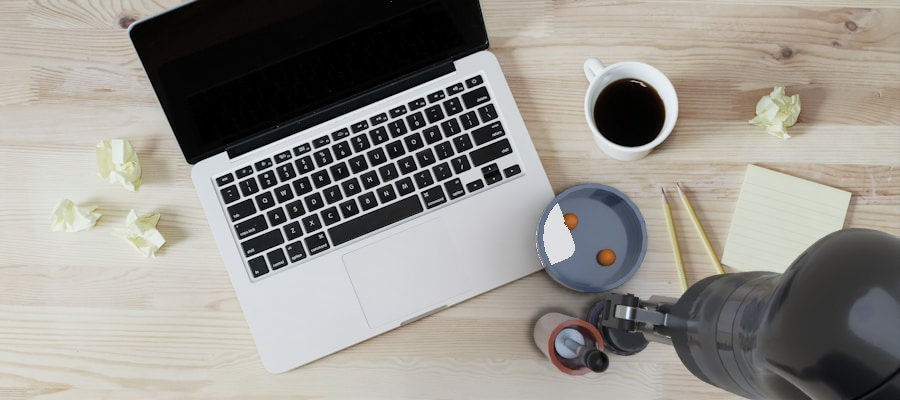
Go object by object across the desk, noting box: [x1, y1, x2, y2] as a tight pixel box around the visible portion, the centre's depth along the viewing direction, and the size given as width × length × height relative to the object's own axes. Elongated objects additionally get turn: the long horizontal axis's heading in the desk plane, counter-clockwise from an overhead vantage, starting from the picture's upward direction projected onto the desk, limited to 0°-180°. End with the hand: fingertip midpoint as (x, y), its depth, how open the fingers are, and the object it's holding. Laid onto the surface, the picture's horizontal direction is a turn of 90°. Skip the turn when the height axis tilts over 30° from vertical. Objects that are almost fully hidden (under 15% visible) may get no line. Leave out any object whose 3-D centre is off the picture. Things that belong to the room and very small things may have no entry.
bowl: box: [536, 183, 649, 293], centre depth 86 cm, size 12×12×5 cm
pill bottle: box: [585, 297, 651, 357], centre depth 81 cm, size 6×6×11 cm
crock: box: [533, 312, 605, 377], centre depth 77 cm, size 5×5×20 cm
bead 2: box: [598, 249, 616, 266], centre depth 86 cm, size 2×2×2 cm
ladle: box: [554, 327, 610, 374], centre depth 63 cm, size 3×3×20 cm
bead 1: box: [563, 213, 578, 230], centre depth 87 cm, size 2×2×2 cm
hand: (680, 323), depth 61 cm, fingers open, 8 cm apart
